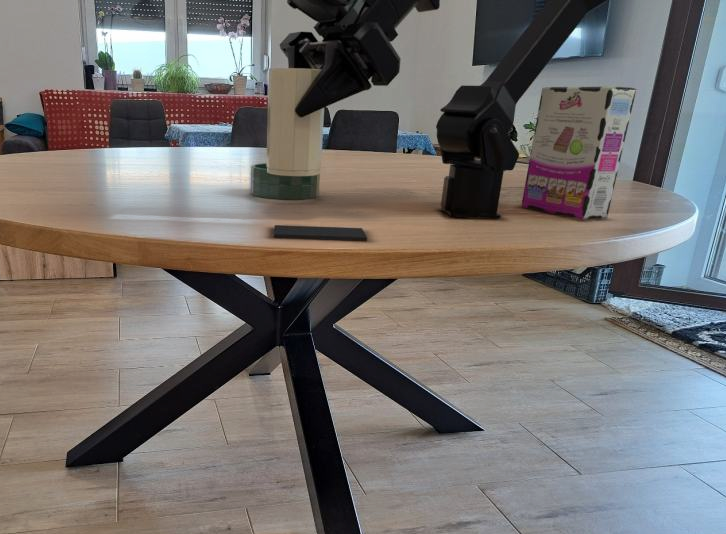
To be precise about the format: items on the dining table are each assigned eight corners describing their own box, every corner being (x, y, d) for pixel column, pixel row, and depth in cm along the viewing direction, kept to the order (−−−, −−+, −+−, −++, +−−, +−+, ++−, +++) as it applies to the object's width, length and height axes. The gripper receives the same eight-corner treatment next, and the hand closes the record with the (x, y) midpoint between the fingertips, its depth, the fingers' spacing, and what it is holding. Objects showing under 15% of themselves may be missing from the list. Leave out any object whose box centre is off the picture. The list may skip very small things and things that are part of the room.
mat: (361, 231, 73) (362, 228, 73) (366, 241, 68) (367, 237, 68) (274, 228, 73) (274, 224, 73) (273, 237, 68) (273, 234, 68)
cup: (294, 168, 77) (297, 70, 73) (330, 174, 73) (337, 70, 69) (256, 171, 74) (257, 68, 69) (292, 177, 69) (296, 67, 65)
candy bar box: (609, 219, 85) (639, 87, 79) (583, 221, 83) (612, 86, 77) (544, 205, 95) (566, 86, 89) (519, 207, 93) (540, 85, 87)
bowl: (316, 194, 98) (318, 164, 97) (319, 205, 89) (321, 172, 87) (252, 192, 98) (252, 162, 97) (248, 202, 89) (249, 169, 88)
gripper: (298, -43, 74) (208, 56, 74) (386, -77, 58) (272, 50, 58) (351, 36, 80) (269, 128, 80) (445, 25, 64) (341, 140, 64)
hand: (284, 112), depth 70 cm, fingers closed on cup, 6 cm apart
